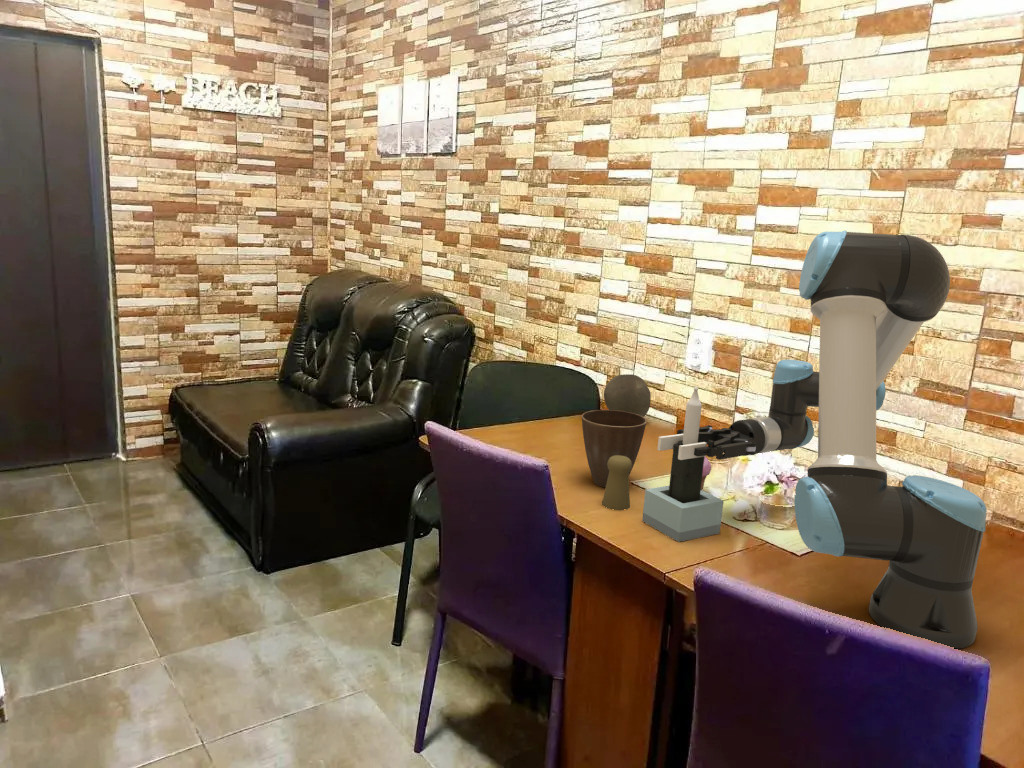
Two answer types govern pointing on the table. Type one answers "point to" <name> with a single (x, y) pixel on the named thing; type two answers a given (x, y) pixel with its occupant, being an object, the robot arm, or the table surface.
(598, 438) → the plant pot
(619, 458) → the olive pawn
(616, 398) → the dark grey round ball
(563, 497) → the table surface
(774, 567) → the table surface
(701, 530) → the holder
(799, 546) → the table surface
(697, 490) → the candle
